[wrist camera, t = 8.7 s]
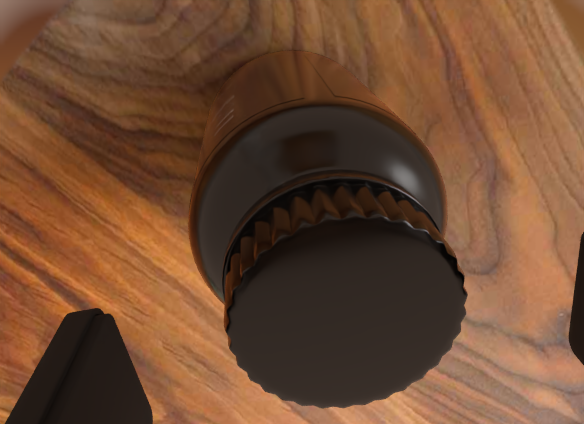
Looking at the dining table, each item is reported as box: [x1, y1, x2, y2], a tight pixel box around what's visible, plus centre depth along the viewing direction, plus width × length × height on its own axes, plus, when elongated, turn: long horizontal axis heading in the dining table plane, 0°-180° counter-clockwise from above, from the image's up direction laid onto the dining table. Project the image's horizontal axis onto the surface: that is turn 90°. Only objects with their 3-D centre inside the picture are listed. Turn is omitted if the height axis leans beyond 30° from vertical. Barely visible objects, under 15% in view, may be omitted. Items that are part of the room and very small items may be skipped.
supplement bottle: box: [188, 50, 468, 408], centre depth 14 cm, size 7×7×12 cm
